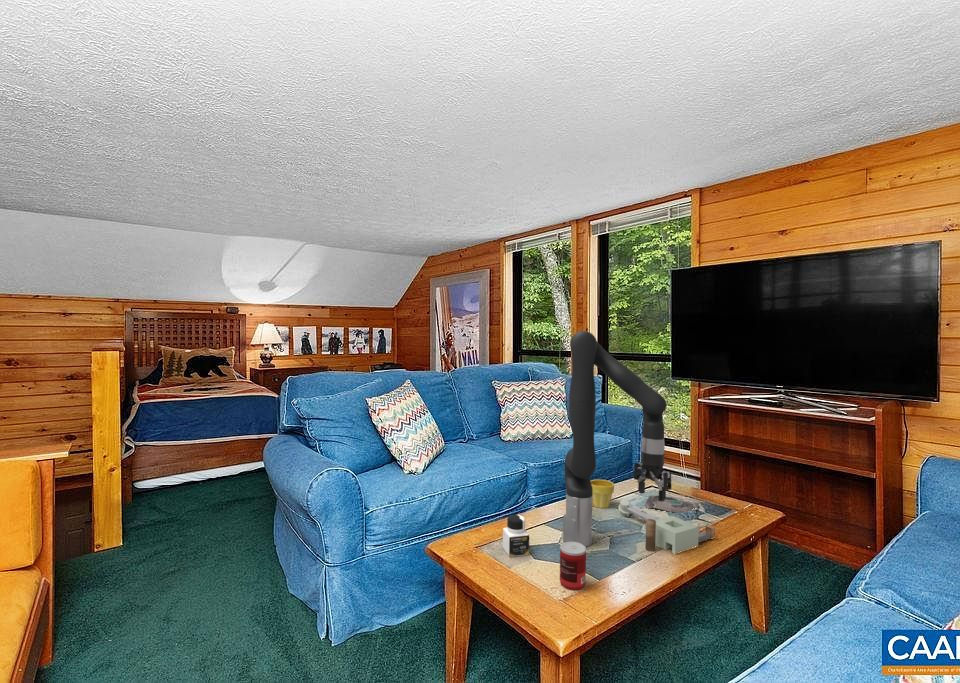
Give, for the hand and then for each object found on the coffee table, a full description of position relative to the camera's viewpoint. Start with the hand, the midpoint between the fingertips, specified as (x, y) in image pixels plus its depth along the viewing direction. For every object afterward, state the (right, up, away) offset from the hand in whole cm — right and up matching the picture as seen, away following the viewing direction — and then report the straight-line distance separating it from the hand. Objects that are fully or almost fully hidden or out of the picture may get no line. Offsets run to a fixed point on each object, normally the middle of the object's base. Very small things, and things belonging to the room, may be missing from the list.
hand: (651, 496), depth 168 cm
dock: (+9, -18, +4) cm, 21 cm away
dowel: (0, -18, 0) cm, 18 cm away
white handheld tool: (+6, -17, +22) cm, 29 cm away
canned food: (-32, -19, -23) cm, 43 cm away
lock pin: (+20, -18, +7) cm, 28 cm away
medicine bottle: (-47, -18, -3) cm, 51 cm away
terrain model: (+23, -18, +40) cm, 49 cm away
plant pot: (-7, -17, +41) cm, 45 cm away
